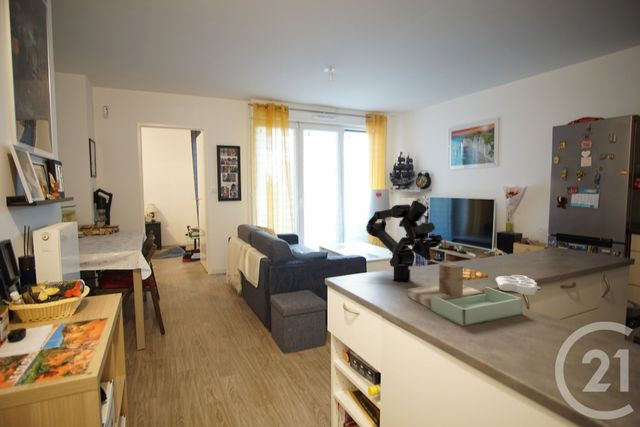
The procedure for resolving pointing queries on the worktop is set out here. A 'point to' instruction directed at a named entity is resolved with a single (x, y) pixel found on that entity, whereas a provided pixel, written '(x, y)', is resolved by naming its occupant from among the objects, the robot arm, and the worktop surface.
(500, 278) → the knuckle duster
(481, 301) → the box
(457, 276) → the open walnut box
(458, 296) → the bench plate
